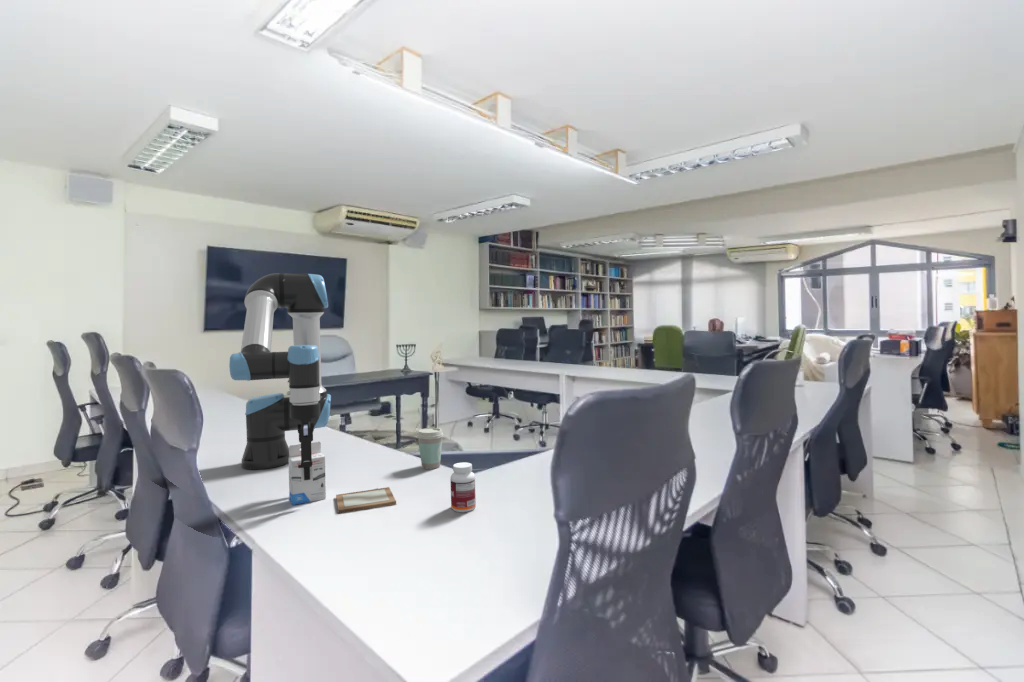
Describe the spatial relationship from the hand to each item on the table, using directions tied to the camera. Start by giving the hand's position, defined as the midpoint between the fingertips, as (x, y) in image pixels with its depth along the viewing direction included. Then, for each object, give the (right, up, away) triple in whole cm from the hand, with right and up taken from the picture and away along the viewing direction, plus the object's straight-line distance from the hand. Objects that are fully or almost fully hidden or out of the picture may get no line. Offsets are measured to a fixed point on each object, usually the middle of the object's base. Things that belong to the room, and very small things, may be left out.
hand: (307, 485), depth 128 cm
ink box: (0, -4, 0) cm, 4 cm away
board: (+16, -4, -2) cm, 17 cm away
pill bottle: (+43, -4, -8) cm, 43 cm away
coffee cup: (+28, -3, +28) cm, 40 cm away
